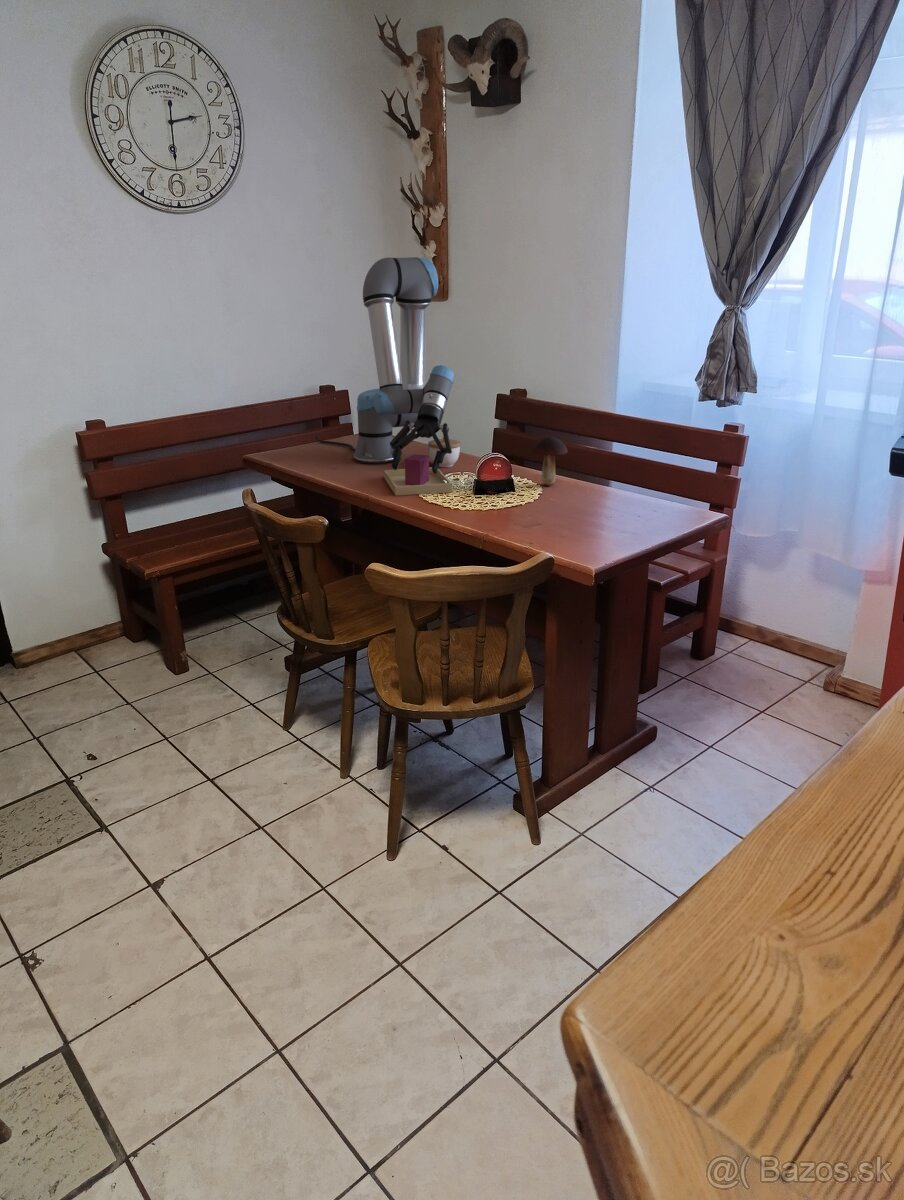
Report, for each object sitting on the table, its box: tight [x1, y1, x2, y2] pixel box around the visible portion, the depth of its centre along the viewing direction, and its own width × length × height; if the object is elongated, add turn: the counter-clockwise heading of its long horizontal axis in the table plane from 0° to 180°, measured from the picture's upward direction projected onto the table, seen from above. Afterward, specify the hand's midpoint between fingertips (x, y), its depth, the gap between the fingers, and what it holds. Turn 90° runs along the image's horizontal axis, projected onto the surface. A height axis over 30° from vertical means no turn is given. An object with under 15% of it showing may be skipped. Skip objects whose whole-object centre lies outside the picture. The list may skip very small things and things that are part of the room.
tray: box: [383, 466, 453, 496], centre depth 250 cm, size 21×17×3 cm
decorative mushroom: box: [531, 436, 569, 487], centre depth 247 cm, size 11×11×15 cm
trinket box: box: [427, 436, 461, 468], centre depth 272 cm, size 11×11×9 cm
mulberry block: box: [404, 453, 430, 486], centre depth 249 cm, size 7×5×8 cm
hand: (413, 469), depth 246 cm, fingers open, 12 cm apart
